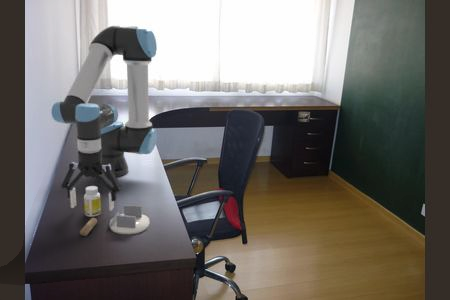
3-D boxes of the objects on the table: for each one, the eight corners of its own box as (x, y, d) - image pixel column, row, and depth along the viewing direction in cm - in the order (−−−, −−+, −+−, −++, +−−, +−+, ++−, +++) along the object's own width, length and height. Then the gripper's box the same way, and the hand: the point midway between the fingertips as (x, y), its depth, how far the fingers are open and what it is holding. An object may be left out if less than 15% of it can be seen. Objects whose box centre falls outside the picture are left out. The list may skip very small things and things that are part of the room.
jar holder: (117, 214, 131) (116, 201, 130) (153, 217, 131) (153, 203, 129) (103, 232, 119) (103, 218, 117) (143, 235, 118) (143, 221, 117)
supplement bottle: (102, 210, 134) (101, 185, 131) (98, 217, 128) (97, 191, 126) (87, 209, 133) (86, 184, 131) (82, 216, 128) (81, 190, 125)
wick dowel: (91, 216, 123) (98, 219, 124) (89, 222, 124) (96, 225, 124) (81, 228, 116) (88, 231, 116) (79, 234, 116) (86, 237, 117)
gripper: (47, 150, 121) (52, 209, 127) (122, 155, 120) (124, 215, 126) (58, 144, 128) (62, 200, 134) (129, 149, 127) (130, 205, 133)
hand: (92, 207), depth 130 cm, fingers open, 13 cm apart
